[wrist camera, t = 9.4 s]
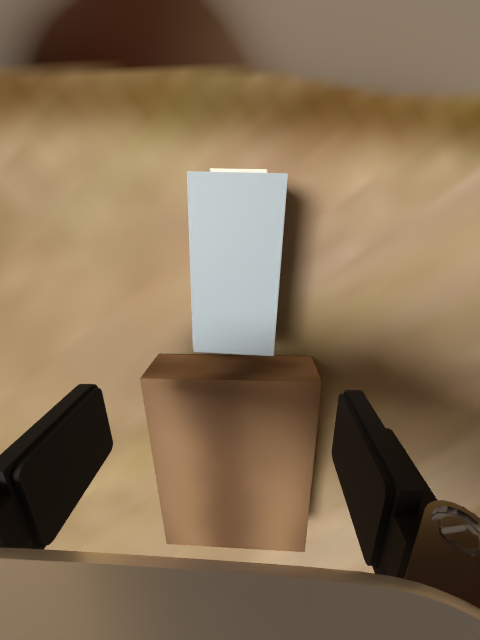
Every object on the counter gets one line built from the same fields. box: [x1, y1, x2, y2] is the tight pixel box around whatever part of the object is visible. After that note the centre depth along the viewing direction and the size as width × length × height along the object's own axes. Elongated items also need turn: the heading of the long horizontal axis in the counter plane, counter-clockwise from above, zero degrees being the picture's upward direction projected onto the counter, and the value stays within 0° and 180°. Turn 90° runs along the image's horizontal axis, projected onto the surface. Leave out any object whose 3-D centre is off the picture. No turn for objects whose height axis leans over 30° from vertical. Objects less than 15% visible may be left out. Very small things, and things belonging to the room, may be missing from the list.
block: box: [187, 168, 288, 356], centre depth 14 cm, size 4×4×8 cm
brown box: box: [140, 354, 322, 552], centre depth 19 cm, size 10×14×3 cm
